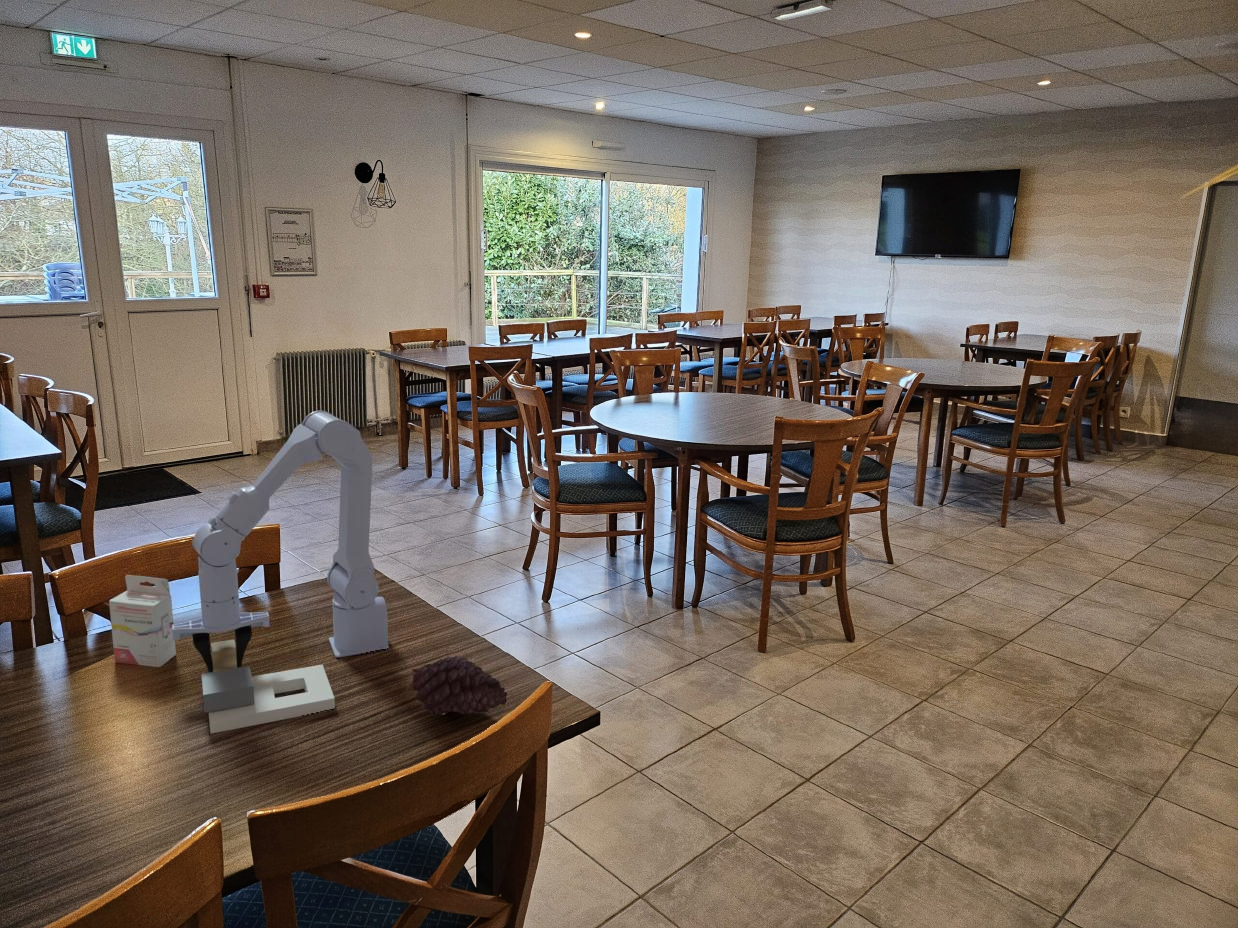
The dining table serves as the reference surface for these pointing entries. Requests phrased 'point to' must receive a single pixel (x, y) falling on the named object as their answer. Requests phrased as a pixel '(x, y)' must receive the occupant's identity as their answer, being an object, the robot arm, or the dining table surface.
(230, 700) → the grey cover
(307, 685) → the socket plate
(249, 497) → the robot arm
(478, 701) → the pine cone
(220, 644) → the maple peg
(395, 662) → the dining table surface
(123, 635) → the ink cartridge box
